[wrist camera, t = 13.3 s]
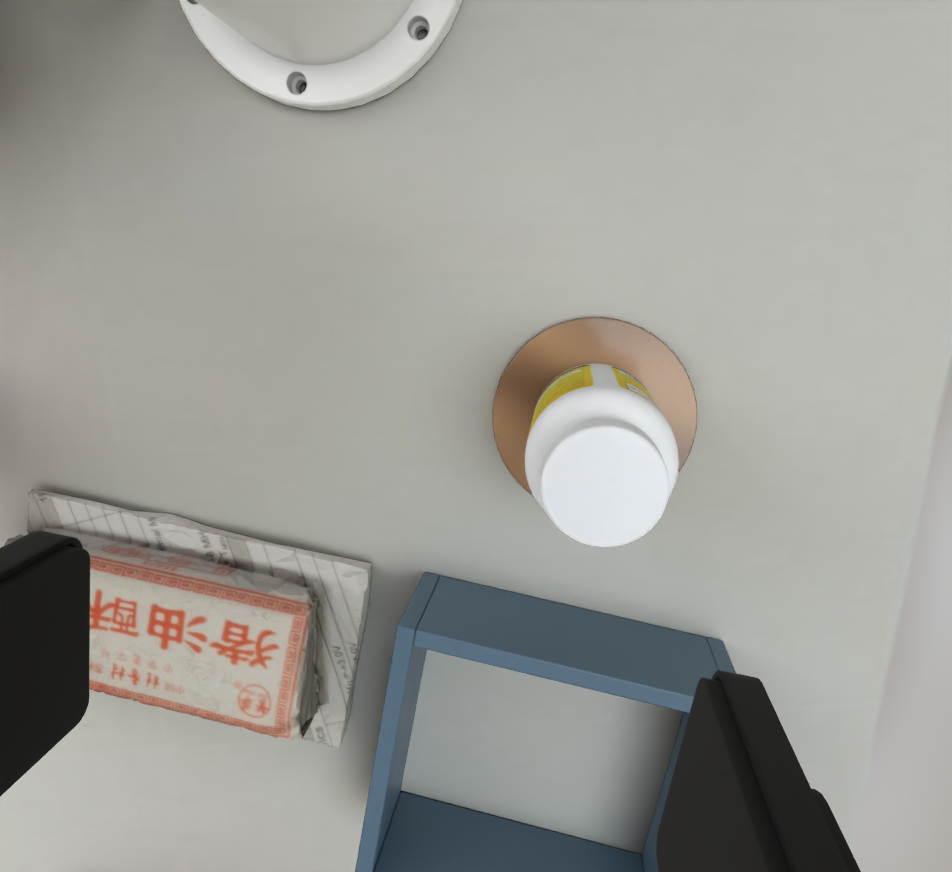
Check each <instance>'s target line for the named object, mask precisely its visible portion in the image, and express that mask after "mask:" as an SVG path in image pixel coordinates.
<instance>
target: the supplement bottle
mask: <svg viewBox="0 0 952 872" xmlns="http://www.w3.org/2000/svg"><path fill="white" fill-rule="evenodd" d="M678 466H679V456H678V448H677V443H676V440H675V437H674V434H673V431H672V429H671V427H670V425H669V423H668V421H667V419H666V418H665V417H664V415H663V414H662V412H661V410H660V409H659V408H658V406H657V405H656V403H655V402H654V400H653V398H652V397H651V395H650V393H649V392H648V391H647V389H646V388H645V387H644V386H643V385H642V384H641V382H640V381H638V380H637V379H636V378H635V377H634V376H632V375H631V374H630V373H628V372H626V371H624V370H622V369H620V368H618V367H615V366H611V365H607V364H599V363H592V364H584V365H579V366H576V367H573V368H571V369H568V370H566V371H565V372H563V373H561V374H560V375H558V376H557V377H556V378H554V379H553V380H552V381H551V382H550V383H549V384H548V386H547V387H546V388H545V389H544V391H543V392H542V394H541V396H540V398H539V399H538V402H537V404H536V407H535V410H534V414H533V419H532V423H531V427H530V431H529V435H528V439H527V443H526V450H525V472H526V477H527V481H528V485H529V487H530V490H531V492H532V494H533V496H534V498H535V499H536V501H537V502H538V504H539V505H540V506H541V508H542V509H543V510H544V511H545V512H546V513H547V514H548V516H549V517H550V519H551V520H552V522H553V523H554V524H555V525H556V526H557V528H558V529H560V530H561V531H562V532H563V533H564V534H566V535H567V536H569V537H570V538H572V539H574V540H576V541H578V542H580V543H583V544H586V545H590V546H596V547H616V546H621V545H624V544H627V543H630V542H632V541H634V540H636V539H638V538H640V537H642V536H643V535H645V534H646V533H647V532H648V531H649V530H651V529H652V528H653V527H654V525H655V524H656V523H657V522H658V520H659V519H660V517H661V516H662V514H663V512H664V510H665V508H666V505H667V501H668V499H669V497H670V495H671V493H672V491H673V489H674V486H675V483H676V479H677V475H678Z"/></svg>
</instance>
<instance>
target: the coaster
mask: <svg viewBox="0 0 952 872" xmlns="http://www.w3.org/2000/svg"><path fill="white" fill-rule="evenodd" d="M592 363H599V364H607V365H611V366H615V367H618V368H620V369H622V370H624V371H626V372H628V373H630V374H631V375H632V376H634V377H635V378H636V379H637V380H638V381H640V382H641V384H642V385H643V386H644V387H645V388H646V389H647V391H648V392H649V393H650V395H651V397H652V398H653V400H654V402H655V403H656V405H657V406H658V408H659V409H660V410H661V412H662V414H663V415H664V417H665V418H666V419H667V421H668V423H669V425H670V427H671V429H672V431H673V434H674V437H675V440H676V443H677V448H678V456H679V466H678V472H679V471H680V469H681V468H682V467H683V465H684V463H685V461H686V459H687V457H688V455H689V453H690V450H691V448H692V445H693V442H694V437H695V432H696V427H697V406H696V398H695V394H694V389H693V386H692V384H691V381H690V378H689V376H688V374H687V372H686V370H685V368H684V366H683V365H682V363H681V362H680V360H679V359H678V358H677V356H676V355H675V354H674V353H673V351H672V350H671V349H670V348H669V347H668V346H667V345H666V344H665V343H663V342H662V341H661V340H660V339H658V338H657V337H656V336H654V335H653V334H651V333H650V332H648V331H646V330H644V329H643V328H641V327H638V326H636V325H633V324H631V323H628V322H625V321H621V320H617V319H610V318H603V317H592V318H581V319H574V320H571V321H567V322H563V323H560V324H558V325H556V326H553V327H551V328H549V329H547V330H545V331H544V332H542V333H540V334H538V335H537V336H536V337H534V338H533V339H532V340H530V341H529V342H528V343H527V344H526V345H525V346H524V347H523V348H522V349H521V350H520V351H519V352H518V353H517V354H516V355H515V357H514V358H513V359H512V361H511V362H510V363H509V365H508V367H507V368H506V370H505V372H504V374H503V375H502V378H501V380H500V383H499V385H498V388H497V392H496V396H495V400H494V408H493V428H494V435H495V439H496V443H497V447H498V450H499V452H500V455H501V457H502V459H503V461H504V463H505V465H506V466H507V468H508V470H509V471H510V473H511V474H512V475H513V477H514V478H515V479H516V480H517V482H518V483H519V484H520V485H521V486H522V487H523V488H524V489H525V490H526V491H528V492H529V493H530V494H532V492H531V490H530V487H529V485H528V481H527V477H526V472H525V450H526V443H527V439H528V435H529V431H530V427H531V423H532V419H533V414H534V410H535V407H536V404H537V402H538V399H539V398H540V396H541V394H542V392H543V391H544V389H545V388H546V387H547V386H548V384H549V383H550V382H551V381H552V380H553V379H554V378H556V377H557V376H558V375H560V374H561V373H563V372H565V371H566V370H568V369H571V368H573V367H576V366H579V365H584V364H592ZM532 495H533V494H532Z"/></svg>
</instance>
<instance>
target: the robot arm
mask: <svg viewBox="0 0 952 872" xmlns="http://www.w3.org/2000/svg"><path fill="white" fill-rule="evenodd" d="M179 1H180V4H181V7H182V10H183V12H184V13H185V15H186V17H187V19H188V21H189V23H190V24H191V26H192V28H193V30H194V32H195V34H196V36H197V37H198V38H199V40H200V41H201V42H202V44H203V45H204V46H205V47H206V49H207V50H208V51H209V52H210V54H211V55H212V56H213V58H214V59H215V60H216V61H217V62H218V63H219V64H220V65H222V66H223V67H224V68H225V69H226V70H227V71H228V72H229V73H231V74H232V75H233V76H234V77H235V78H236V79H237V80H239V81H240V82H242V83H244V84H245V85H247V86H248V87H250V88H252V89H253V90H255V91H256V92H258V93H260V94H262V95H264V96H267V97H269V98H271V99H273V100H275V101H278V102H280V103H282V104H285V105H290V106H294V107H298V108H303V109H307V110H340V109H345V108H350V107H354V106H359V105H364V104H366V103H368V102H370V101H373V100H375V99H377V98H380V97H382V96H384V95H386V94H389V93H390V92H391V91H393V90H394V89H396V88H397V87H399V86H400V85H401V84H403V83H404V82H406V81H407V80H409V79H410V78H411V77H413V76H414V75H415V73H416V72H417V71H418V70H419V69H420V68H421V67H422V66H423V65H424V64H425V63H426V62H427V61H428V60H429V59H430V58H431V57H432V56H433V55H434V53H435V52H436V50H437V49H438V47H439V46H440V44H441V42H442V41H443V39H444V38H445V36H446V35H447V33H448V32H449V30H450V29H451V27H452V24H453V22H454V20H455V17H456V15H457V13H458V10H459V8H460V6H461V3H462V1H463V0H179ZM423 29H425V30H427V31H428V34H427V36H426V37H425V38H424V39H422V40H419V39H417V35H418V32H419V31H420V30H423ZM303 83H307V86H306V89H305V91H304V92H303V93H300V86H301V85H302V84H303ZM89 657H90V555H89V553H88V551H86V550H85V549H83V546H82V544H81V542H80V540H78V539H77V538H75V537H70V536H65V535H60V534H56V533H51V532H46V531H39V530H38V531H35V532H32V533H30V534H28V535H26V536H24V537H22V538H20V539H18V540H16V541H14V542H12V543H10V544H8V545H6V546H4V547H2V548H0V796H1V795H2V794H3V793H4V792H5V791H7V790H8V789H9V788H10V787H11V786H12V785H13V784H14V783H15V782H16V781H17V780H18V779H19V778H20V777H22V776H23V775H24V774H25V773H26V772H27V771H28V770H29V769H30V768H31V767H32V766H33V765H34V764H35V763H37V762H38V761H39V760H40V759H41V758H42V757H43V756H44V755H45V754H46V753H47V752H48V751H49V750H50V749H52V748H53V747H54V746H55V745H56V744H57V743H58V742H59V741H60V740H61V739H62V738H63V737H64V736H65V735H67V734H68V733H69V732H70V731H71V730H72V729H73V728H74V727H75V726H76V725H77V724H78V723H79V722H80V720H81V719H82V717H83V716H84V714H85V712H86V709H87V706H88V703H89ZM656 856H657V864H658V871H659V872H861V871H860V869H859V867H858V865H857V863H856V861H855V859H854V857H853V855H852V853H851V851H850V849H849V846H848V844H847V842H846V840H845V838H844V836H843V834H842V832H841V830H840V828H839V826H838V824H837V822H836V819H835V817H834V815H833V813H832V811H831V809H830V807H829V805H828V803H827V801H826V800H825V798H824V797H823V795H822V794H821V793H820V792H818V791H817V790H815V789H811V788H810V786H809V783H808V781H807V779H806V777H805V775H804V773H803V770H802V768H801V766H800V764H799V762H798V760H797V757H796V755H795V753H794V751H793V749H792V747H791V744H790V742H789V740H788V738H787V736H786V734H785V732H784V729H783V727H782V725H781V723H780V721H779V719H778V716H777V714H776V712H775V710H774V708H773V706H772V703H771V701H770V699H769V697H768V695H767V693H766V690H765V688H764V686H763V684H762V682H761V681H760V679H758V678H755V677H750V676H745V675H740V674H735V673H730V672H725V671H721V670H717V671H716V672H715V673H714V675H713V676H712V679H708V678H703V677H702V678H701V679H700V680H699V682H698V685H697V688H696V691H695V695H694V699H693V702H692V706H691V710H690V713H689V717H688V721H687V725H686V728H685V732H684V736H683V739H682V743H681V747H680V750H679V754H678V758H677V762H676V765H675V769H674V773H673V776H672V780H671V784H670V787H669V791H668V795H667V799H666V802H665V806H664V810H663V813H662V817H661V821H660V824H659V829H658V834H657V843H656Z"/></svg>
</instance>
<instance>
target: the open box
mask: <svg viewBox="0 0 952 872" xmlns="http://www.w3.org/2000/svg"><path fill="white" fill-rule="evenodd" d="M426 649H428V650H432V651H436V652H440V653H444V654H448V655H452V656H456V657H460V658H465V659H469V660H473V661H477V662H481V663H485V664H489V665H493V666H497V667H502V668H506V669H510V670H514V671H518V672H522V673H526V674H530V675H534V676H539V677H543V678H547V679H551V680H555V681H559V682H563V683H567V684H571V685H576V686H580V687H584V688H588V689H592V690H596V691H600V692H604V693H608V694H613V695H617V696H621V697H625V698H629V699H633V700H637V701H641V702H645V703H650V704H654V705H658V706H662V707H666V708H670V709H674V710H678V711H682V712H684V715H683V718H682V722H681V725H680V728H679V732H678V735H677V739H676V742H675V745H674V749H673V752H672V755H671V759H670V762H669V766H668V769H667V772H666V776H665V779H664V782H663V786H662V789H661V793H660V796H659V799H658V803H657V806H656V809H655V813H654V816H653V820H652V823H651V826H650V830H649V833H648V836H647V840H646V843H645V847H644V850H643V853H642V856H641V855H640V854H636V853H632V852H628V851H625V850H621V849H617V848H613V847H610V846H606V845H602V844H598V843H594V842H591V841H587V840H583V839H579V838H575V837H572V836H568V835H564V834H560V833H556V832H553V831H549V830H545V829H541V828H537V827H534V826H530V825H526V824H522V823H518V822H515V821H511V820H507V819H503V818H499V817H496V816H492V815H488V814H484V813H481V812H477V811H473V810H469V809H465V808H462V807H458V806H454V805H450V804H446V803H443V802H439V801H435V800H431V799H427V798H424V797H420V796H416V795H412V794H408V793H405V792H400V789H401V784H402V779H403V773H404V768H405V763H406V757H407V752H408V746H409V741H410V736H411V730H412V725H413V719H414V714H415V709H416V703H417V698H418V692H419V687H420V682H421V676H422V671H423V665H424V660H425V655H426ZM717 670H721V671H725V672H730V673H735V674H736V672H735V670H734V667H733V665H732V662H731V660H730V657H729V655H728V653H727V650H726V648H725V645H724V643H723V641H720V640H716V639H712V638H705V637H702V636H698V635H694V634H689V633H685V632H681V631H676V630H672V629H668V628H663V627H659V626H655V625H651V624H646V623H642V622H638V621H633V620H629V619H625V618H621V617H616V616H612V615H608V614H603V613H599V612H595V611H590V610H586V609H582V608H578V607H573V606H569V605H565V604H560V603H556V602H552V601H547V600H543V599H539V598H535V597H530V596H526V595H522V594H517V593H513V592H509V591H505V590H500V589H496V588H492V587H487V586H483V585H479V584H474V583H470V582H466V581H462V580H457V579H453V578H449V577H444V576H439V575H435V574H431V573H427V572H425V573H424V575H423V577H422V579H421V581H420V583H419V585H418V587H417V589H416V591H415V593H414V595H413V597H412V598H411V600H410V602H409V604H408V606H407V608H406V610H405V612H404V614H403V616H402V618H401V620H400V622H399V624H398V626H397V631H396V637H395V643H394V649H393V655H392V660H391V666H390V672H389V678H388V684H387V689H386V695H385V701H384V707H383V713H382V719H381V724H380V730H379V736H378V742H377V748H376V753H375V759H374V765H373V771H372V777H371V782H370V788H369V794H368V800H367V806H366V811H365V817H364V823H363V829H362V835H361V841H360V846H359V852H358V858H357V864H356V870H355V872H659V871H658V864H657V856H656V843H657V834H658V829H659V824H660V821H661V817H662V813H663V810H664V806H665V802H666V799H667V795H668V791H669V787H670V784H671V780H672V776H673V773H674V769H675V765H676V762H677V758H678V754H679V750H680V747H681V743H682V739H683V736H684V732H685V728H686V725H687V721H688V717H689V713H690V710H691V706H692V702H693V699H694V695H695V691H696V688H697V685H698V682H699V680H700V679H701V678H702V677H703V678H708V679H712V676H713V675H714V673H715V672H716V671H717Z"/></svg>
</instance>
